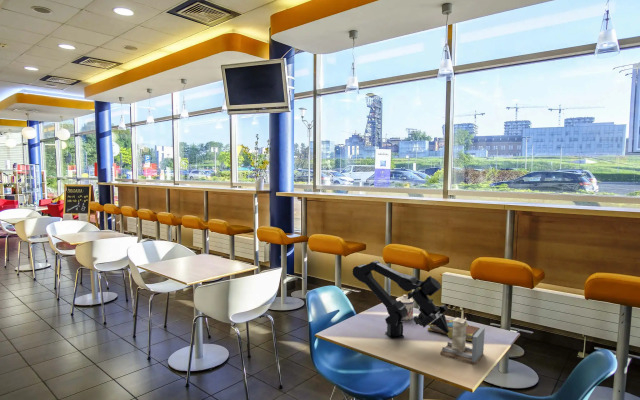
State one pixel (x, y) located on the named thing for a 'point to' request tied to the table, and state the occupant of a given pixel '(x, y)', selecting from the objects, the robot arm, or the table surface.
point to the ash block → (459, 334)
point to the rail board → (459, 353)
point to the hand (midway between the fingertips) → (448, 332)
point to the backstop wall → (478, 344)
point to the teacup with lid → (407, 305)
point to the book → (469, 330)
